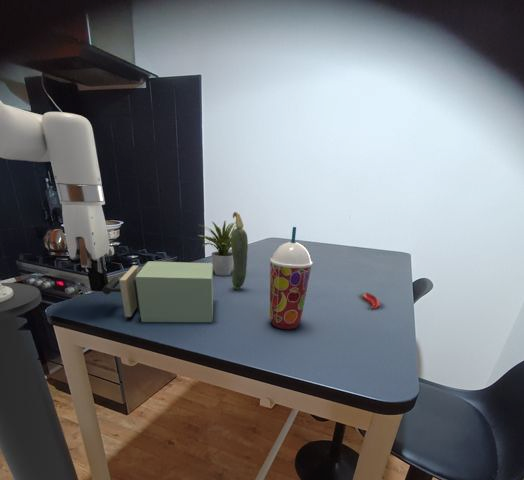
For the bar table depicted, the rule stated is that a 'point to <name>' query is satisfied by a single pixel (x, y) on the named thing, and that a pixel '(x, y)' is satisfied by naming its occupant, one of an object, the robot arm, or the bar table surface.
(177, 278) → the pale green box
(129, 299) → the drawer
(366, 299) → the cayenne pepper
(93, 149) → the robot arm
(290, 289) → the smoothie
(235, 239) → the vegetable
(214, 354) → the bar table surface
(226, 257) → the house plant
